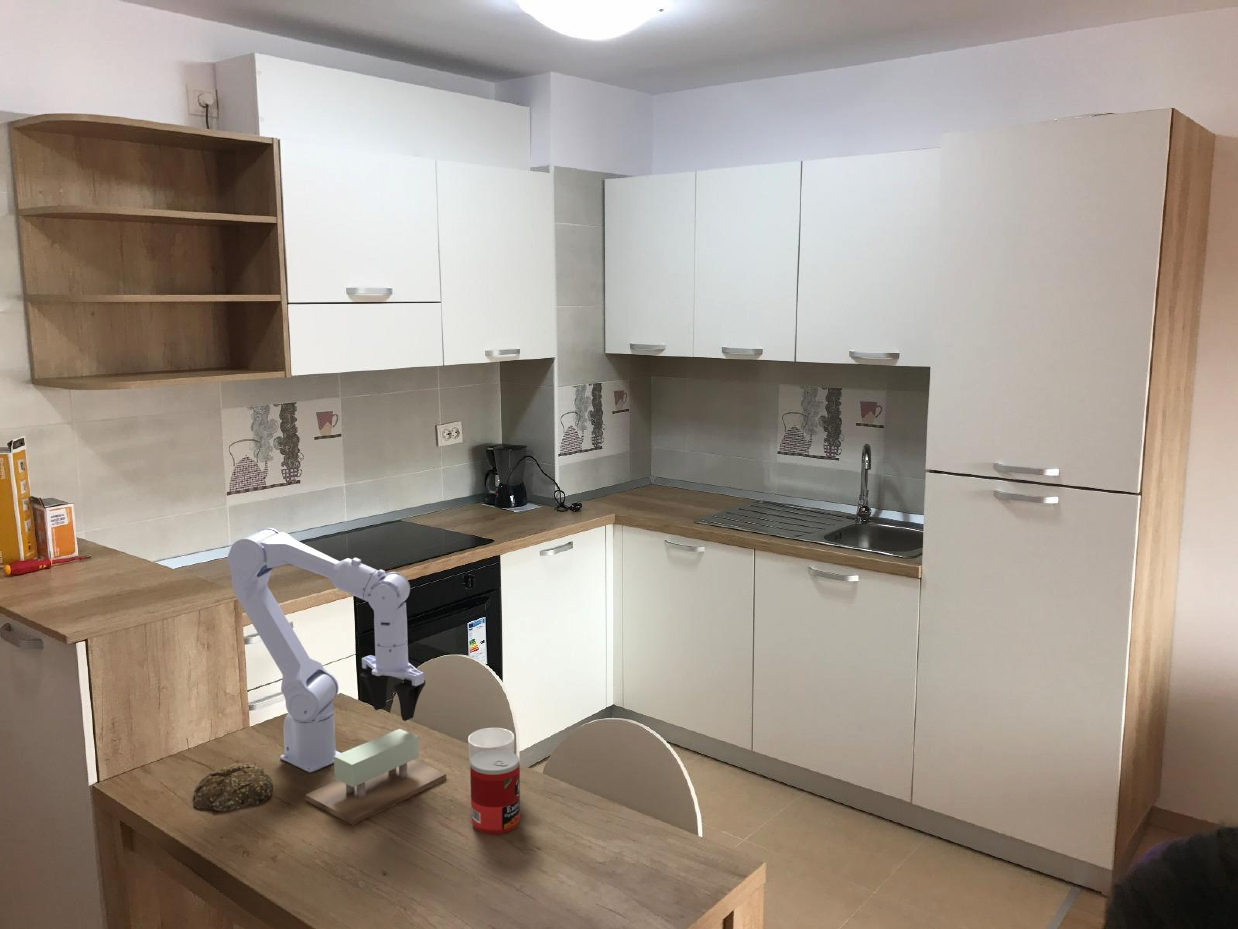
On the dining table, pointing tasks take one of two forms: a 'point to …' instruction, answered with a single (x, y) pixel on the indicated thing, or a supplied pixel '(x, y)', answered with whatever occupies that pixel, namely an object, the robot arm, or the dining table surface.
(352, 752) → the pale green rectangular block
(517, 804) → the canned food
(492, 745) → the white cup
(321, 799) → the peg base
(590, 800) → the dining table surface
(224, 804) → the bread roll
